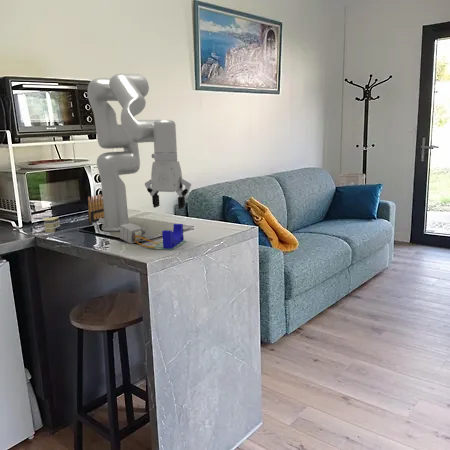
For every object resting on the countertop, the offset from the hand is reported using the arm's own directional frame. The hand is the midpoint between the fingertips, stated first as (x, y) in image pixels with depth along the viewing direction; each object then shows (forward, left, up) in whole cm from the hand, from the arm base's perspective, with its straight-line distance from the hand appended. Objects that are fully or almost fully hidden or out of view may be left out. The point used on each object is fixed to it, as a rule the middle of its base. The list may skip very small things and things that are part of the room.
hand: (168, 207), depth 157 cm
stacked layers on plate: (-62, +10, -14) cm, 64 cm away
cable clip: (0, 0, -13) cm, 13 cm away
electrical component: (-10, -1, -14) cm, 17 cm away
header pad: (-1, 0, -14) cm, 14 cm away
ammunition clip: (-55, +33, -14) cm, 65 cm away
